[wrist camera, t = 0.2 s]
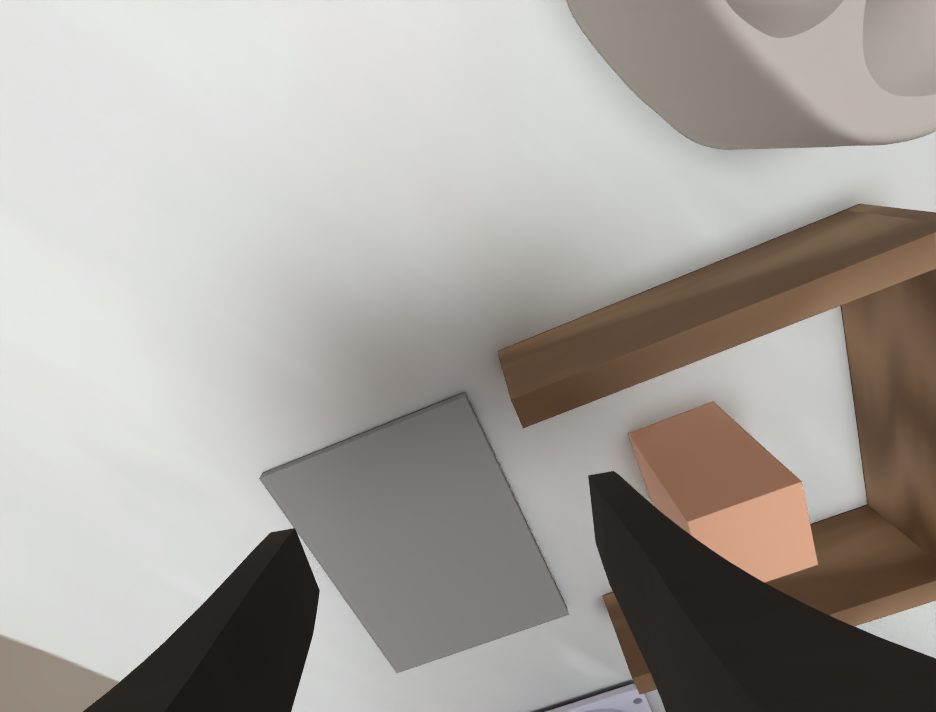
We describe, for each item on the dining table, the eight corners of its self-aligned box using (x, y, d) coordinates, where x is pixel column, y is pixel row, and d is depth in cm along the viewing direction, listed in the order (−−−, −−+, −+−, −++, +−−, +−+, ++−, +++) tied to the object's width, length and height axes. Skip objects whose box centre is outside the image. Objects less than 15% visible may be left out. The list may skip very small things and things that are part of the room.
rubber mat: (567, 608, 27) (568, 614, 26) (397, 666, 28) (396, 673, 27) (465, 392, 22) (465, 396, 21) (262, 473, 23) (259, 478, 22)
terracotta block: (730, 469, 24) (818, 564, 18) (650, 498, 24) (712, 600, 19) (712, 401, 22) (801, 481, 17) (627, 433, 23) (687, 522, 17)
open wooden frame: (894, 514, 25) (983, 585, 21) (608, 611, 27) (639, 694, 23) (860, 204, 19) (974, 216, 15) (497, 351, 21) (510, 399, 17)
